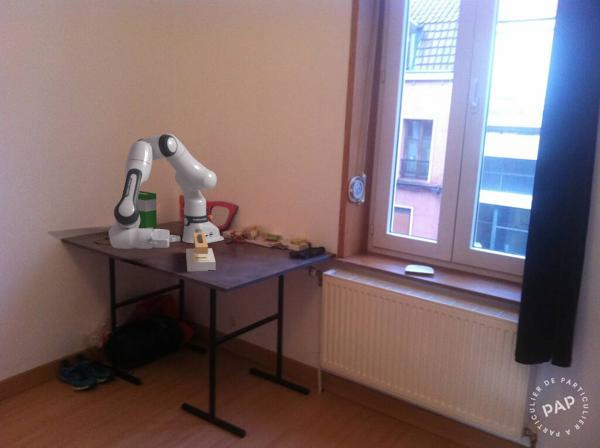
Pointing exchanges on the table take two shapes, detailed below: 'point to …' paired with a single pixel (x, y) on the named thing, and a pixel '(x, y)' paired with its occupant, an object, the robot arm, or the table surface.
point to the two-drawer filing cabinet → (200, 260)
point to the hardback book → (147, 209)
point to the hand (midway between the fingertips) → (180, 238)
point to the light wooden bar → (200, 242)
